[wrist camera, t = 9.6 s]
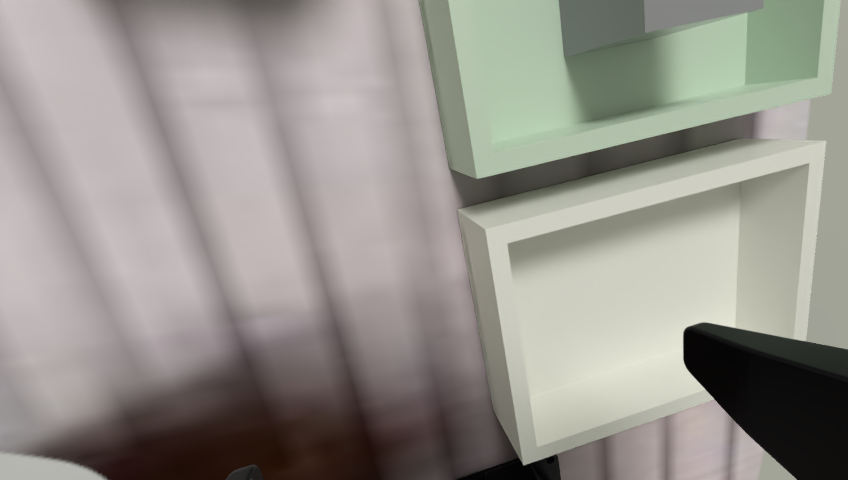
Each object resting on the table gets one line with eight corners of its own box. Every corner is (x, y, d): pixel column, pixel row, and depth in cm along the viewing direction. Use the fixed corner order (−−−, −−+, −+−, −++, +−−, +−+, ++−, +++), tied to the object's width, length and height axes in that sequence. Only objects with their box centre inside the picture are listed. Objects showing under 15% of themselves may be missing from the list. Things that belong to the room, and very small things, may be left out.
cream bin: (733, 332, 25) (803, 368, 22) (493, 410, 23) (523, 465, 19) (741, 138, 22) (826, 140, 18) (456, 209, 20) (485, 229, 16)
